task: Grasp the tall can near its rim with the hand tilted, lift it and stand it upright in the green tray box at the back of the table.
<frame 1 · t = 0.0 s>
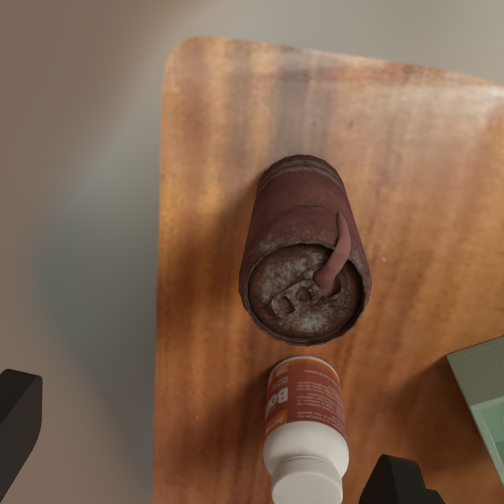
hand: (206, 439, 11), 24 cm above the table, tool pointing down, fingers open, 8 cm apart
pill bottle: (303, 379, 41), on the table
can: (301, 192, 33), on the table
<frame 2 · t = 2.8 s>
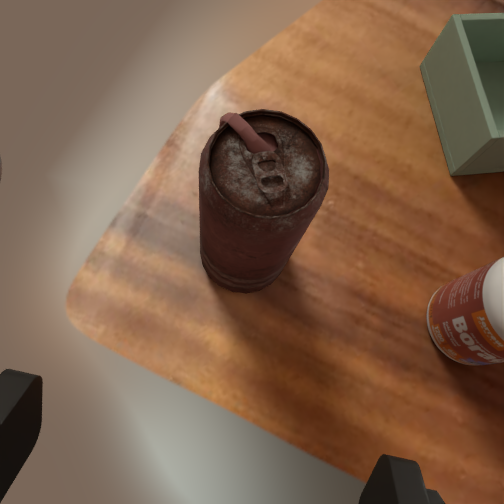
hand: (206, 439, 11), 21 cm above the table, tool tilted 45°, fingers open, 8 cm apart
pill bottle: (463, 323, 34), on the table
green tray box: (492, 115, 40), on the table
can: (241, 253, 34), on the table
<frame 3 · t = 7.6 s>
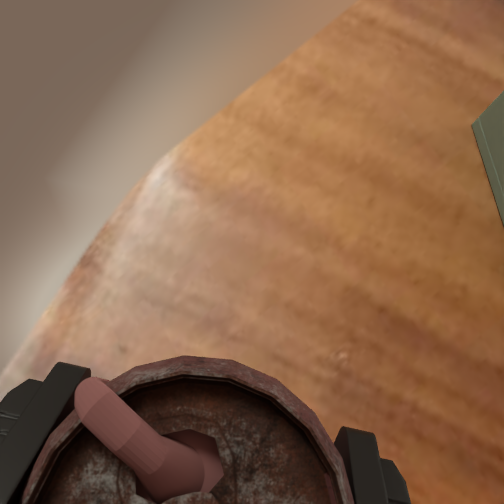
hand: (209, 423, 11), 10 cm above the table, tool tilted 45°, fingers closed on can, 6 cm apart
can: (196, 453, 21), on the table, touching gripper
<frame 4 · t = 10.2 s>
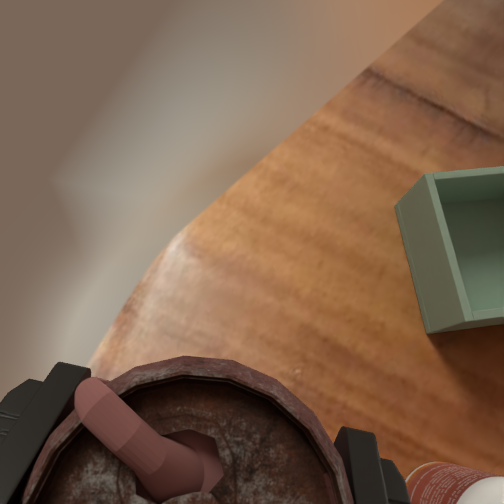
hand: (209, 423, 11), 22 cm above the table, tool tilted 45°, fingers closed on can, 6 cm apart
green tray box: (471, 260, 38), on the table
can: (196, 453, 21), point 12 cm above the table, touching gripper
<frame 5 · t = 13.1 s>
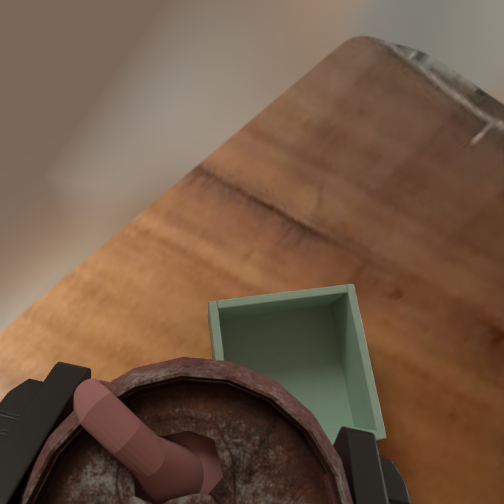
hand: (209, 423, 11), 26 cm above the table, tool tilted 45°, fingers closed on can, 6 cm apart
green tray box: (282, 373, 38), on the table
can: (196, 454, 21), point 16 cm above the table, touching gripper
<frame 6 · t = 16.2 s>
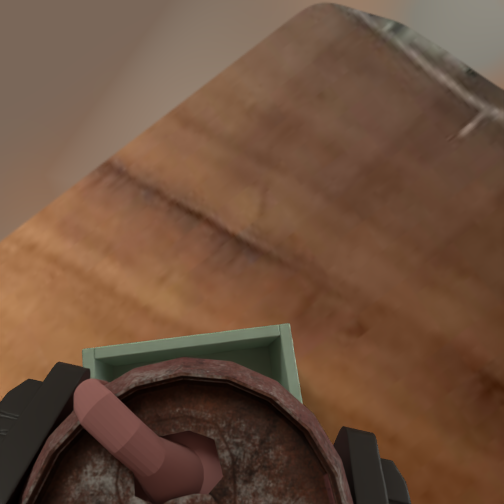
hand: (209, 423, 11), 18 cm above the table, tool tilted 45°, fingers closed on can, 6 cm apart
green tray box: (200, 437, 28), on the table
can: (195, 454, 21), point 8 cm above the table, touching gripper
when the fingers open (11 cm above the table, at t = 18.7 s): can stays where it is, resting on green tray box.
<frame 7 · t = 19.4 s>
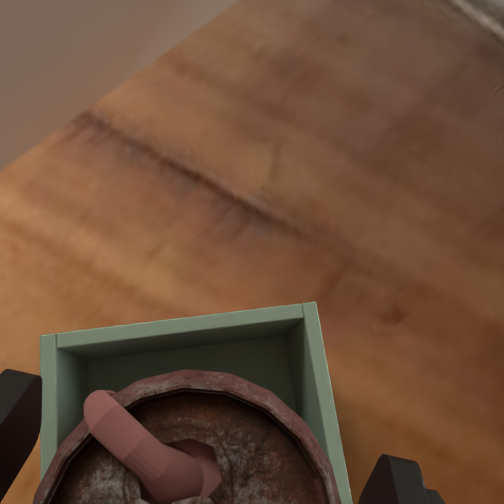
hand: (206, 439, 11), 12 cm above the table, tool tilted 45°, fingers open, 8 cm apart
green tray box: (199, 450, 22), on the table
can: (196, 456, 22), point 1 cm above the table, touching green tray box
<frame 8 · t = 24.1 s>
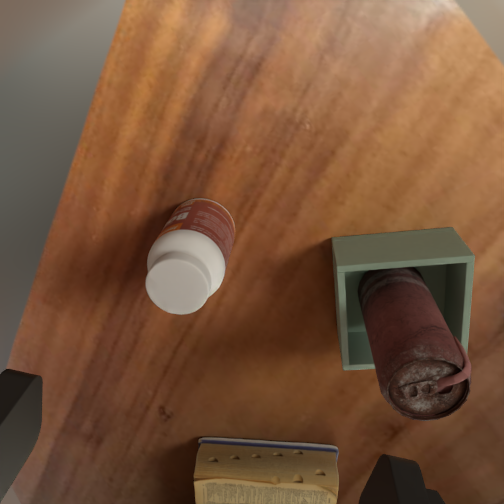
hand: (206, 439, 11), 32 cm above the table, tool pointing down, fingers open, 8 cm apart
pill bottle: (203, 227, 44), on the table
green tray box: (391, 283, 45), on the table
can: (390, 285, 44), point 1 cm above the table, touching green tray box
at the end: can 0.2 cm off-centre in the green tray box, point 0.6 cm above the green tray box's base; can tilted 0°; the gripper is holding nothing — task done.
